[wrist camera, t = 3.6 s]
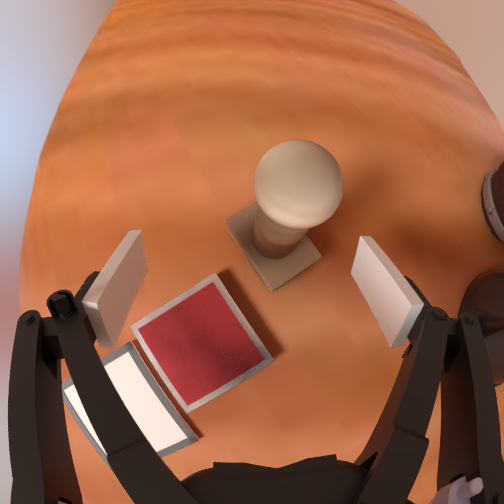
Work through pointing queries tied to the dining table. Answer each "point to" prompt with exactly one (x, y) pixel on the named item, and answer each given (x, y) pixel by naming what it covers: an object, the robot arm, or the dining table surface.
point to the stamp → (287, 210)
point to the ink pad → (201, 343)
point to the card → (135, 404)
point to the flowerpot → (494, 201)
